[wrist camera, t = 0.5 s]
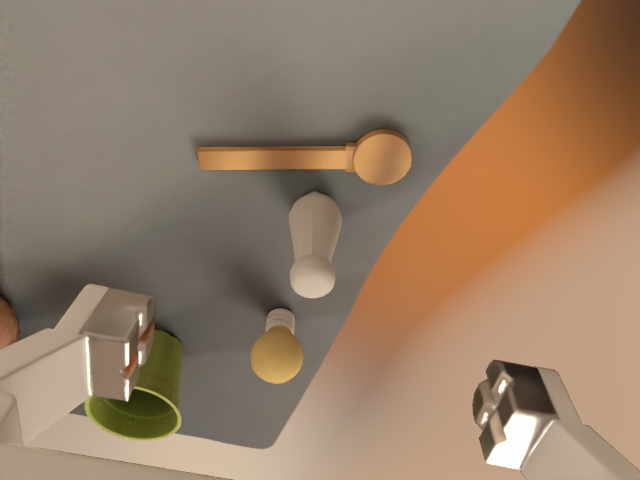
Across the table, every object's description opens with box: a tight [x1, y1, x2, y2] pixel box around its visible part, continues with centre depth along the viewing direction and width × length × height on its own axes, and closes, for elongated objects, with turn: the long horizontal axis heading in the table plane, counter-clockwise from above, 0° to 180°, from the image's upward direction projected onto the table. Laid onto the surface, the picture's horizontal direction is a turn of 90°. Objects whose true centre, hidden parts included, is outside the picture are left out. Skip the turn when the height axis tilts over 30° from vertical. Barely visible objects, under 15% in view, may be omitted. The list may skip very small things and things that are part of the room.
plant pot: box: [85, 329, 183, 441], centre depth 69 cm, size 12×12×11 cm
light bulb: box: [251, 308, 303, 384], centre depth 65 cm, size 6×6×10 cm
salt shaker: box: [289, 191, 342, 298], centre depth 53 cm, size 6×6×13 cm
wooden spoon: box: [197, 129, 412, 185], centre depth 54 cm, size 22×6×1 cm, turn 91°
